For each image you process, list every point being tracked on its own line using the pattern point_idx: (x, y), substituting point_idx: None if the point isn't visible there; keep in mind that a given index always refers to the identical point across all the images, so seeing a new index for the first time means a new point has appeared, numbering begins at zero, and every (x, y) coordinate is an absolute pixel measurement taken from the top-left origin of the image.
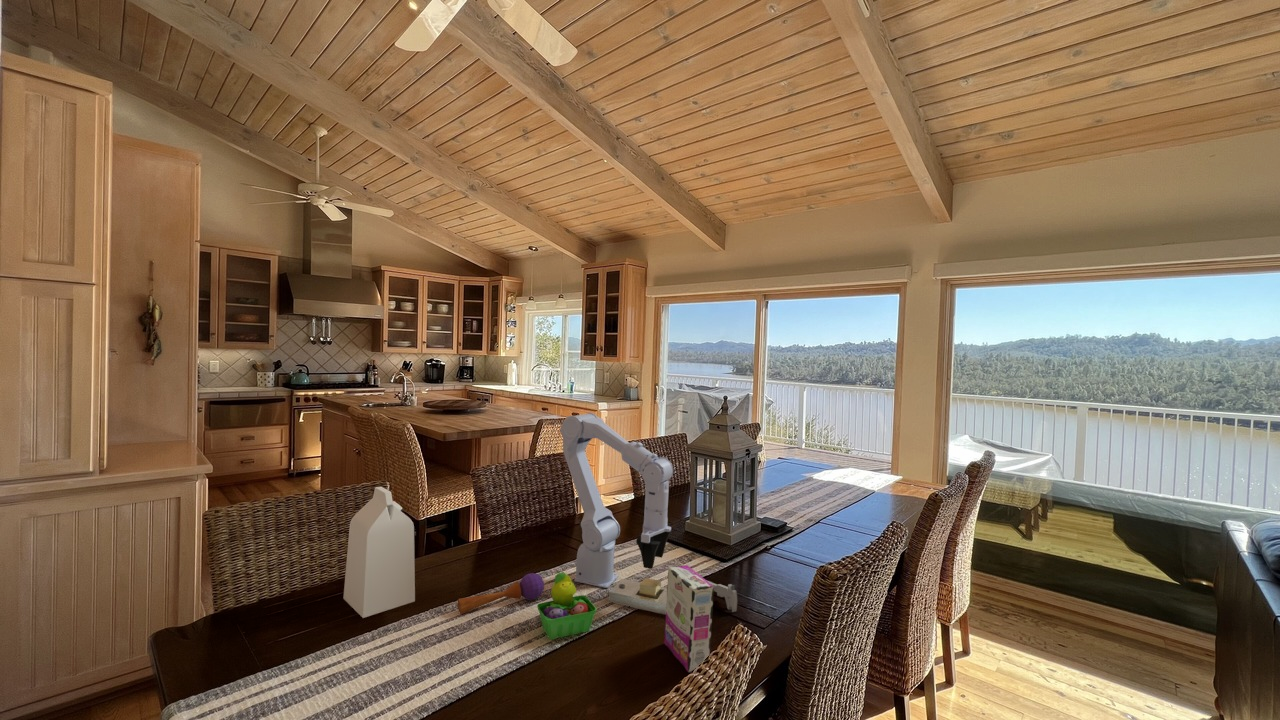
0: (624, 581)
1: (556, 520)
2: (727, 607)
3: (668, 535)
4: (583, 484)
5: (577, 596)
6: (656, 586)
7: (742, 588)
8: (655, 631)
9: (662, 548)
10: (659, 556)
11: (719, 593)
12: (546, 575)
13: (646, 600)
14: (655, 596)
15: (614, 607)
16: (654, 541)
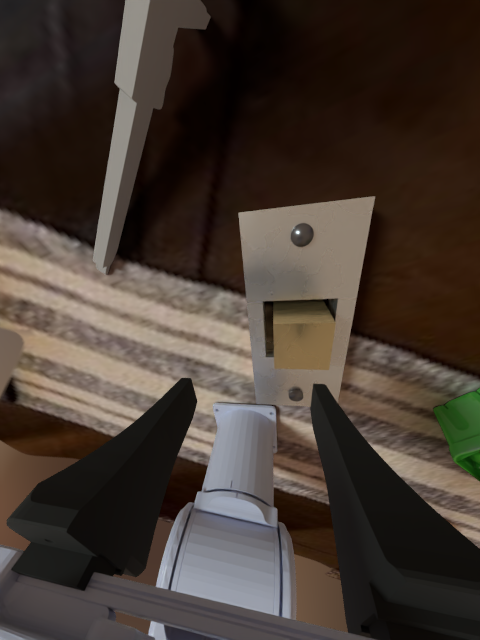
0: (267, 395)
1: None
2: (203, 26)
3: (97, 473)
4: None
5: (463, 466)
6: (324, 323)
7: (11, 46)
8: (472, 243)
9: (170, 410)
10: (192, 387)
11: (159, 84)
12: (275, 477)
13: (351, 323)
14: (324, 308)
15: (351, 373)
16: (412, 603)
